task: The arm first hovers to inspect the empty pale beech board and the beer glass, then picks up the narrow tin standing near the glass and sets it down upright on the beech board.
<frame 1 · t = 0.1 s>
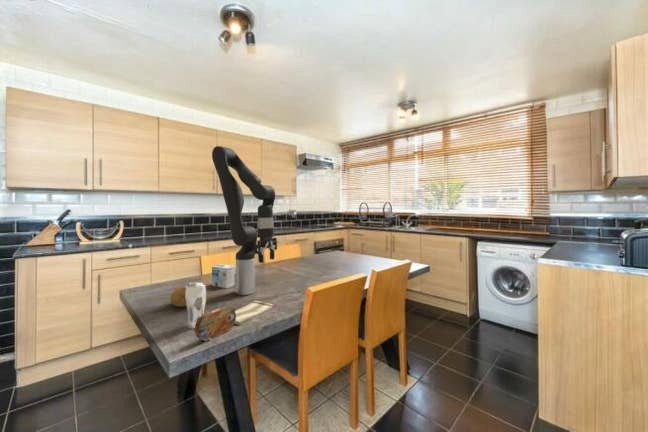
hand: (266, 260, 131), 17 cm above the table, tool pointing down, fingers open, 8 cm apart
tin: (216, 335, 93), on the table
potato: (182, 305, 120), on the table
beer glass: (196, 325, 101), on the table
board: (247, 313, 112), on the table
light bulb box: (223, 285, 150), on the table
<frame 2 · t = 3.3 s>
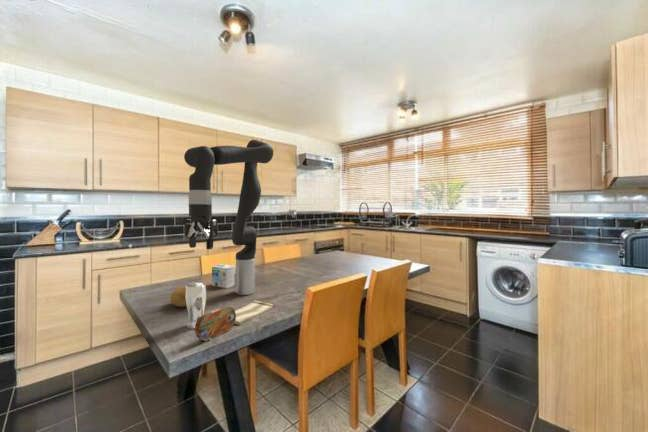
hand: (201, 248, 99), 28 cm above the table, tool pointing down, fingers open, 8 cm apart
nothing on the table moved.
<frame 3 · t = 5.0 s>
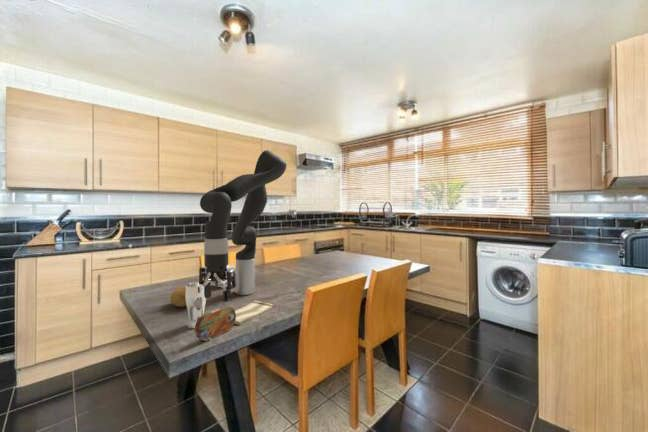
hand: (217, 299, 93), 12 cm above the table, tool pointing down, fingers open, 8 cm apart
nothing on the table moved.
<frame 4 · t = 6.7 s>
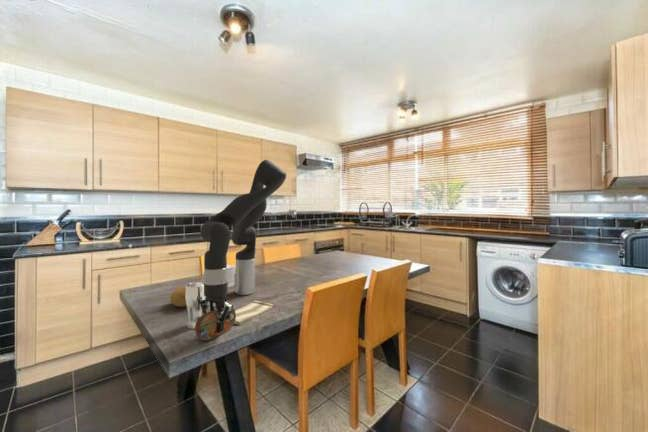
hand: (216, 330, 93), 1 cm above the table, tool pointing down, fingers closed on tin, 2 cm apart
tin: (215, 334, 93), on the table, touching gripper
everything else where it was.
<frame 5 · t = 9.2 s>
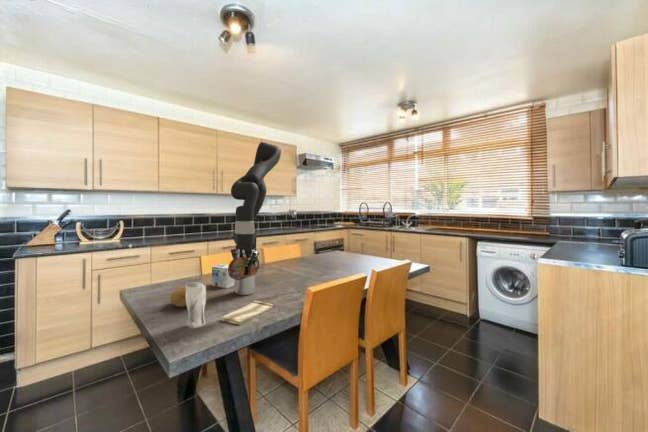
hand: (244, 274, 111), 16 cm above the table, tool pointing down, fingers closed on tin, 2 cm apart
tin: (243, 277, 111), point 15 cm above the table, touching gripper
everything else where it was.
when the fingers open (3 cm above the table, at t = 12.0 s): tin stays where it is, resting on board.
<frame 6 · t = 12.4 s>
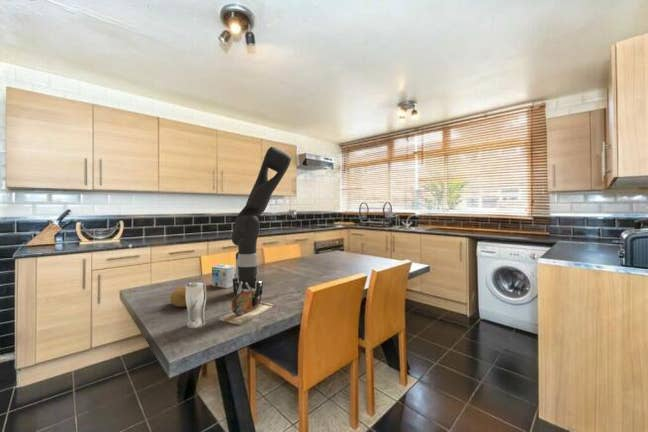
hand: (247, 304, 112), 3 cm above the table, tool pointing down, fingers open, 6 cm apart
tin: (246, 311, 112), point 1 cm above the table, touching board
everything else where it was.
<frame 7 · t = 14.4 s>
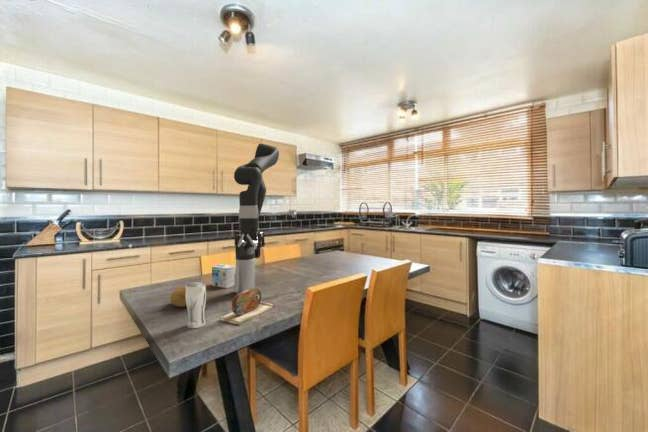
hand: (249, 256, 111), 23 cm above the table, tool pointing down, fingers open, 8 cm apart
nothing on the table moved.
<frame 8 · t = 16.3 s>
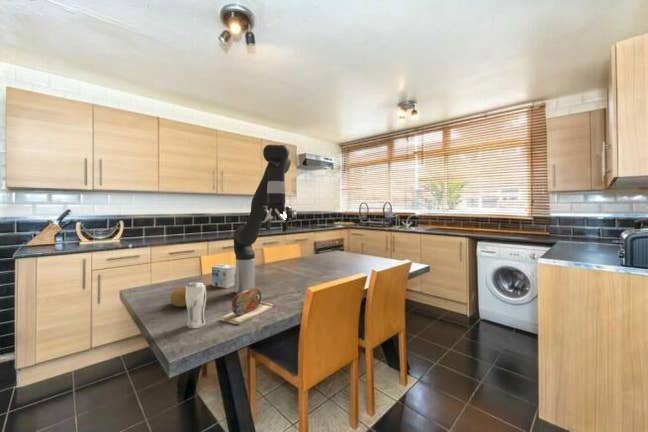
hand: (276, 230, 116), 33 cm above the table, tool pointing down, fingers open, 8 cm apart
nothing on the table moved.
at the end: tin inside the target area on the board (0.4 cm from its centre), point 0.6 cm above the board's base; tin tilted 0°; the gripper is holding nothing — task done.
